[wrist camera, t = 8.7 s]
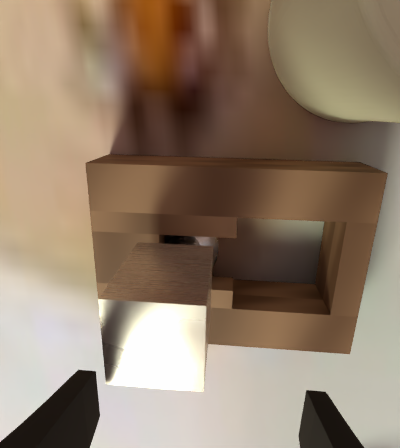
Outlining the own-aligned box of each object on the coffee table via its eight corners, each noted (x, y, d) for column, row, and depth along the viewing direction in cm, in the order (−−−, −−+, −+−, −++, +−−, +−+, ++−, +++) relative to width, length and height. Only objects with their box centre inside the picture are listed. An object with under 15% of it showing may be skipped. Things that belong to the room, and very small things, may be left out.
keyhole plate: (360, 162, 18) (387, 173, 15) (332, 318, 21) (349, 353, 18) (109, 154, 19) (85, 162, 16) (119, 304, 22) (101, 336, 19)
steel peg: (219, 213, 20) (212, 301, 11) (217, 273, 21) (209, 396, 12) (153, 210, 20) (91, 293, 11) (155, 270, 21) (101, 387, 12)
